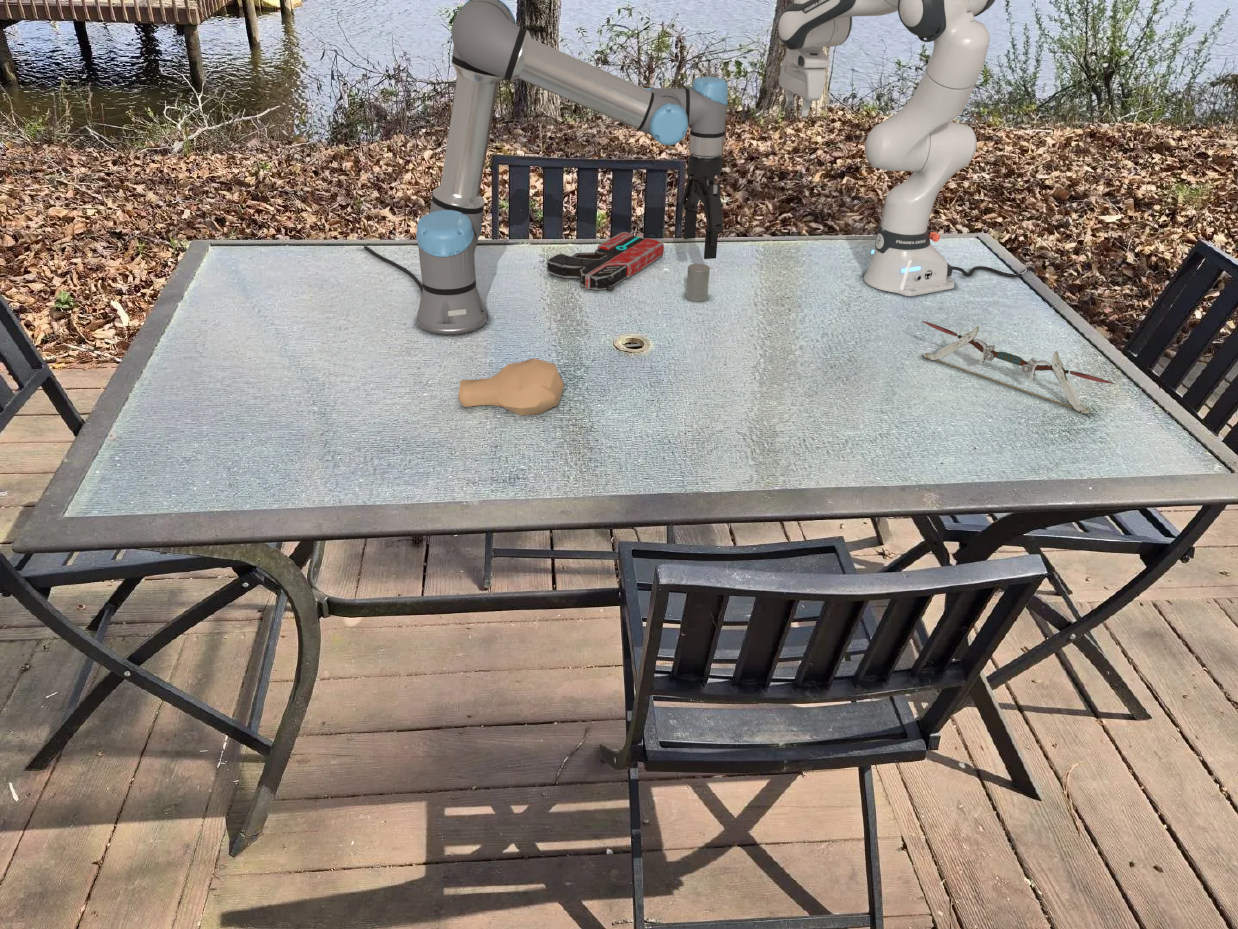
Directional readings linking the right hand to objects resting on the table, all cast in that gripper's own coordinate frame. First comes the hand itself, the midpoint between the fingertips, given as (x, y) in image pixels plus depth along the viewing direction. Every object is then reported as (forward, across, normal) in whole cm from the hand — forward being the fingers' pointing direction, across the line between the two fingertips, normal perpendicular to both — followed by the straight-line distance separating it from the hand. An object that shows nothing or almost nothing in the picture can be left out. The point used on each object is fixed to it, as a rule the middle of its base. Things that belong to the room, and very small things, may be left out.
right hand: (796, 111), depth 233 cm
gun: (+33, +17, -55) cm, 67 cm away
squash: (+33, +84, -89) cm, 127 cm away
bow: (+33, +94, +10) cm, 100 cm away
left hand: (+21, +41, -39) cm, 60 cm away
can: (+33, +40, -38) cm, 64 cm away
